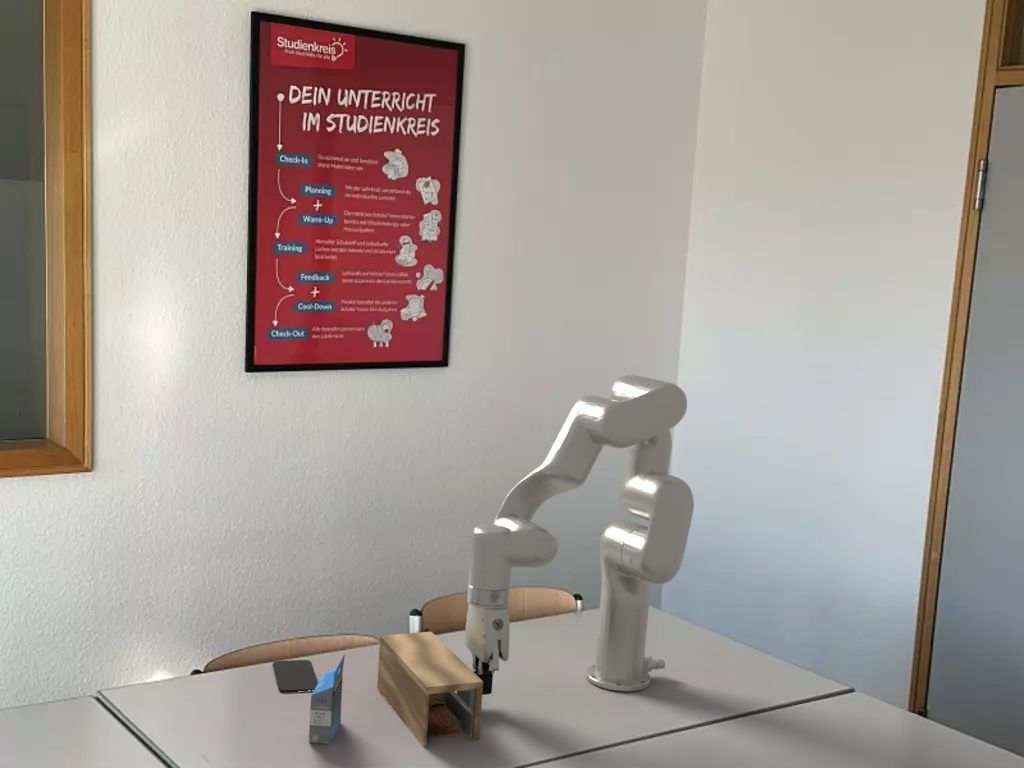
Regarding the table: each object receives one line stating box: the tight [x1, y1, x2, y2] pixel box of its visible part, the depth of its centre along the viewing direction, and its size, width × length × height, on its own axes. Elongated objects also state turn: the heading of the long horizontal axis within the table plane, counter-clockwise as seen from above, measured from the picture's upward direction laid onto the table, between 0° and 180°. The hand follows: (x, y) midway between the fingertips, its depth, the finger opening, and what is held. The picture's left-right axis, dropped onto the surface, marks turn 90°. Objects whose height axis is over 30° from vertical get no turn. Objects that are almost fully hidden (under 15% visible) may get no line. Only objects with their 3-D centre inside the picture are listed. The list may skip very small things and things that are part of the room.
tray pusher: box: [438, 689, 475, 734], centre depth 199 cm, size 4×20×5 cm, turn 24°
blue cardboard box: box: [308, 653, 346, 745], centre depth 185 cm, size 9×4×12 cm, turn 178°
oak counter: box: [376, 631, 483, 748], centre depth 196 cm, size 10×25×10 cm, turn 24°
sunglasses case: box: [427, 693, 464, 738], centre depth 196 cm, size 18×7×7 cm, turn 21°
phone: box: [272, 659, 319, 694], centre depth 209 cm, size 7×1×15 cm
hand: (481, 692), depth 201 cm, fingers closed
